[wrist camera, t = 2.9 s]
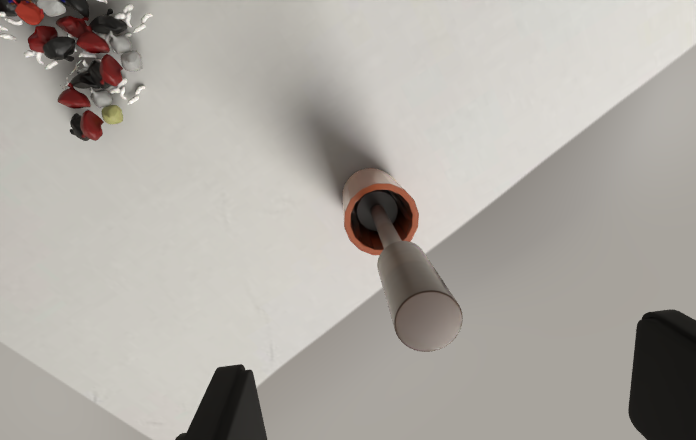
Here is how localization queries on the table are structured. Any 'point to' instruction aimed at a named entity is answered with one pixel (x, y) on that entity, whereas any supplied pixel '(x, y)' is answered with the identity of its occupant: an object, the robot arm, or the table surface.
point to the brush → (409, 280)
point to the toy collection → (81, 55)
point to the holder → (367, 183)
